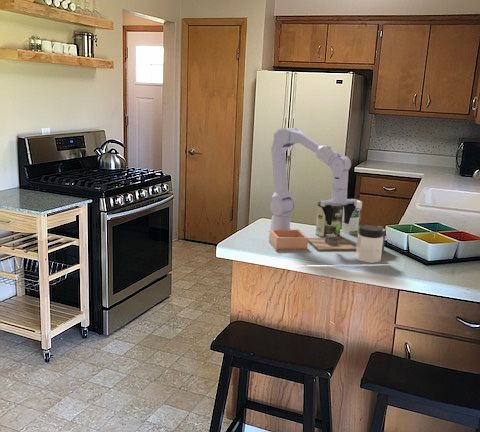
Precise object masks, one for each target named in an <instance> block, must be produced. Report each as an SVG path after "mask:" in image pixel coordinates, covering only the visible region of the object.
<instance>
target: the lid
mask: <svg viewBox="0 0 480 432" xmlns="http://www.w3.org/2000/svg"><path fill="white" fill-rule="evenodd" d="M308 242H309V243H310V244H311V245H312V246H313V247H314V248H316V249H317V250H318V251H337V252H356V248H357V247H355V246H354V245H352V244H351V243H350V242H349V241H348V240H346V239H344V238H343V237H338V238H337V236H336V235H335V234H326V237H325V238H323V237H308ZM309 243H308V244H309ZM310 244H309V245H310ZM311 245H310V246H311ZM312 246H311V247H312ZM313 247H312V248H313ZM314 248H313V249H314Z"/></svg>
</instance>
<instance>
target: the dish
mask: <svg viewBox="0 0 480 432" xmlns="http://www.w3.org/2000/svg"><path fill="white" fill-rule="evenodd" d="M268 232H269V234H268V243H269V244H270V245H271V246H272V248H273V249H274V251H275V252H279V251H280V250H283V251H284V250H308V245H309V243H308V238H309V237H308V236H307V235H306V234H304V232H302V231H301V230H300V229H290V230H271V229H269V230H268Z"/></svg>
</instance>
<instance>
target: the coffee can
mask: <svg viewBox="0 0 480 432" xmlns="http://www.w3.org/2000/svg"><path fill="white" fill-rule="evenodd" d="M331 207H332V208H334V210H333V213H332V223H331V225H328V224H327V222H326V217H325V214H324V211H323V209H322V206H321V201H318V202H317V210H316V211H317V212H316V213H317V214H316V225H315V236H317V237H318V238H325V237H326V234H335V235H336V236H337V238H341V237H340V236H341V229H342V217H343V205H335V206H331Z"/></svg>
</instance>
